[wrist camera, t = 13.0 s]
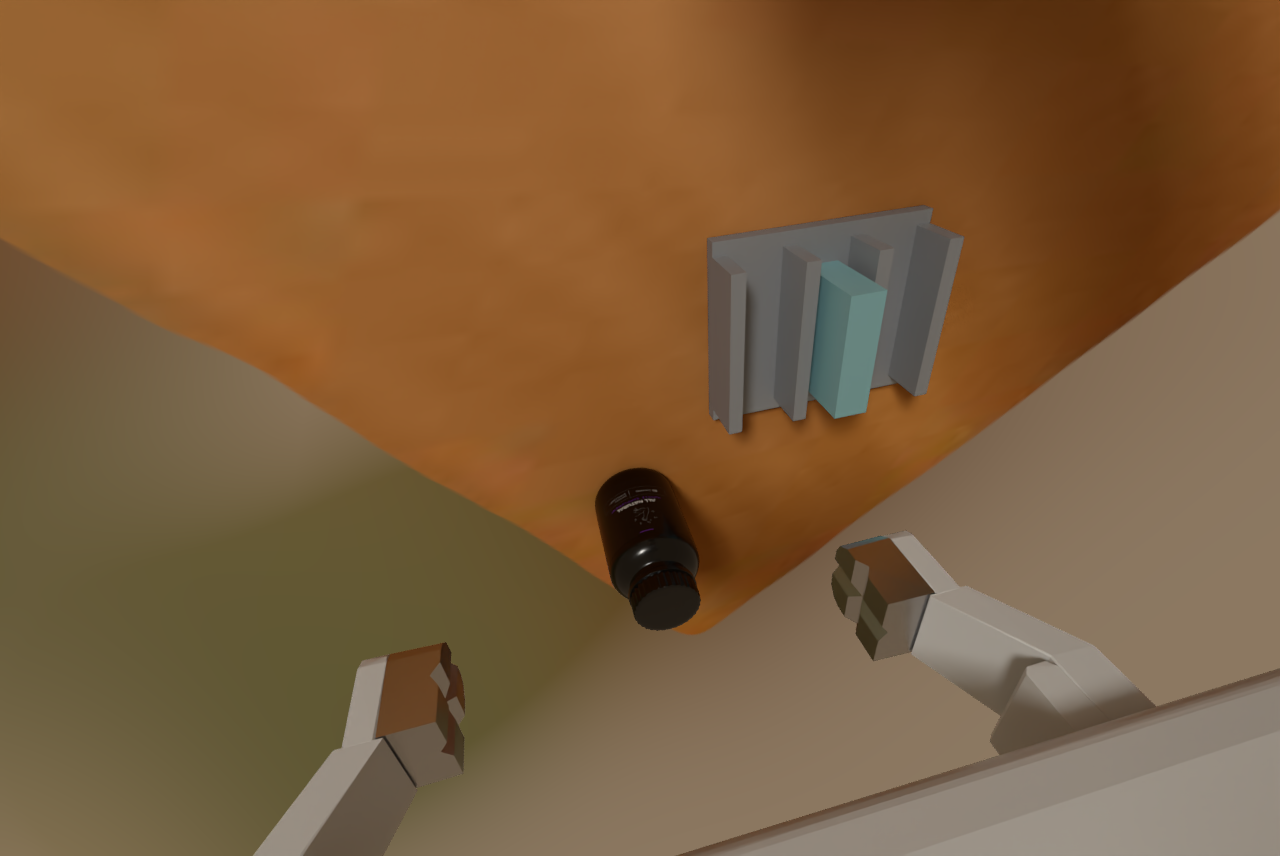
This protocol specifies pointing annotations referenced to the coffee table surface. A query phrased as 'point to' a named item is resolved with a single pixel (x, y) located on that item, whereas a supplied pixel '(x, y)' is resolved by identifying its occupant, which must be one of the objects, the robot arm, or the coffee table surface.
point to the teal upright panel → (845, 339)
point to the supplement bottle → (648, 548)
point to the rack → (788, 296)
